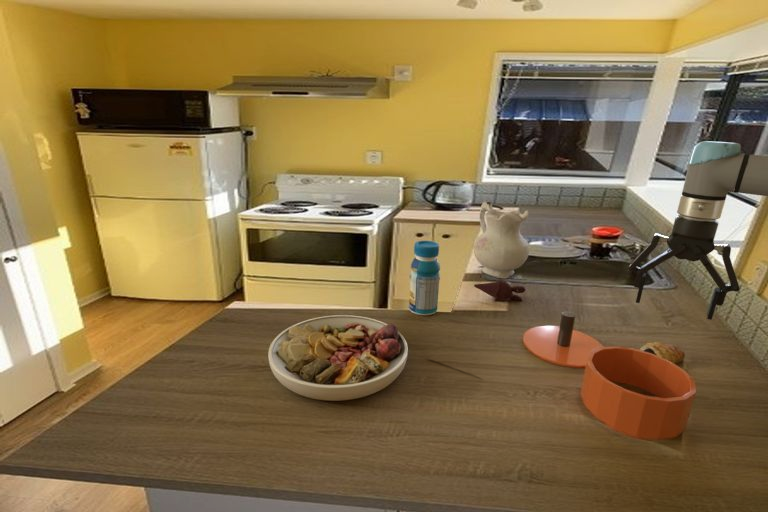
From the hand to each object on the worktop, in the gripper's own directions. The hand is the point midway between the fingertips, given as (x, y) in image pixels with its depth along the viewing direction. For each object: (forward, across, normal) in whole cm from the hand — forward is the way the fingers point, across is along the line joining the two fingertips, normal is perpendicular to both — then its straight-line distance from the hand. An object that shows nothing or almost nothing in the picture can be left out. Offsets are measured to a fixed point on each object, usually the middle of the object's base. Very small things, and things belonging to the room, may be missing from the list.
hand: (672, 308), depth 96 cm
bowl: (+14, -59, -47) cm, 76 cm away
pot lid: (+12, -20, -9) cm, 25 cm away
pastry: (+13, 0, 0) cm, 13 cm away
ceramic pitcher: (+14, -53, +34) cm, 64 cm away
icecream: (+14, -43, +9) cm, 46 cm away
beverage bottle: (+14, -58, -11) cm, 60 cm away
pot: (+13, -4, -25) cm, 28 cm away
